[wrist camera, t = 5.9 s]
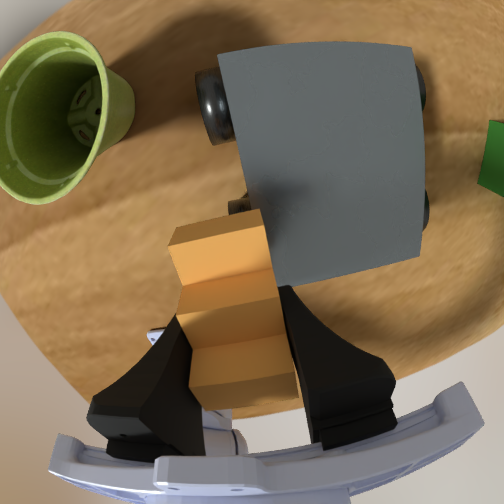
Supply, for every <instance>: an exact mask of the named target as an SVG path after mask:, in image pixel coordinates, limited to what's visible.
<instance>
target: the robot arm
mask: <svg viewBox="0 0 504 504" xmlns="http://www.w3.org/2000/svg"><path fill="white" fill-rule="evenodd" d="M277 288H278V292H279V296H280V302H281V307H282V313H283V318H284V324H285V329H286V335H287V339H288V343H289V348H290V352H291V355H292V358H293V361H294V364H295V367H296V371H297V374H298V378H299V382H300V387H301V392H302V397H303V402H304V407H305V412H306V418H307V423H308V428H309V433H310V439H311V444H310V445H305V446H300V447H294V448H289V449H282V450H276V451H269V452H261V453H252V454H248V447H247V443H246V440H245V438H244V437H243V436H242V434H241V433H240V431H239V430H237V429H232V409H223V410H213V411H205V410H204V408H203V407H202V406H201V404H200V403H199V401H198V400H197V399H196V397H195V396H194V394H193V393H192V391H191V390H190V388H189V379H190V370H191V361H192V353H193V349H192V347H191V345H190V343H189V341H188V339H187V337H186V335H185V333H184V331H183V329H182V327H181V325H180V323H179V321H178V319H177V317H176V314H175V315H174V317H173V318H172V320H171V321H170V323H169V324H168V326H167V327H166V328H165V329H161V330H153V331H148V333H147V337H148V339H149V340H150V342H151V344H152V345H153V346H152V347H151V348H150V350H149V351H148V352H147V353H146V354H145V355H144V356H143V357H142V359H141V360H140V361H139V362H138V363H137V364H136V365H134V366H133V367H132V368H131V369H130V370H129V371H128V372H127V373H126V374H125V375H123V376H122V377H121V378H120V379H118V380H117V381H116V382H114V383H113V384H112V385H110V386H109V387H107V388H106V389H104V390H102V391H101V392H99V393H98V394H96V395H94V396H93V398H92V401H91V404H90V407H89V410H88V414H87V417H86V418H87V421H88V423H89V424H90V426H92V427H93V428H94V429H95V430H96V431H98V432H99V433H100V434H102V435H103V436H104V437H106V438H107V439H108V444H107V449H104V448H98V447H93V446H89V445H84V443H82V442H81V441H80V440H78V439H76V438H74V437H71V436H68V435H64V434H60V433H59V434H58V436H57V439H56V442H55V445H54V449H53V453H52V456H51V460H50V464H49V468H48V471H49V472H51V473H53V474H54V475H56V476H58V477H60V478H61V479H63V480H66V481H67V482H69V483H71V484H73V485H75V486H77V487H80V488H82V489H86V490H88V491H91V492H95V493H98V494H101V495H104V496H107V497H111V498H115V499H118V500H122V501H126V502H130V503H135V504H351V502H350V497H351V496H354V495H357V494H360V493H363V492H366V491H369V490H371V489H374V488H377V487H379V486H382V485H385V484H387V483H389V482H392V481H394V480H397V479H399V478H401V477H403V476H406V475H408V474H410V473H412V472H414V471H416V470H418V469H420V468H422V467H424V466H426V465H428V464H430V463H432V462H434V461H435V460H437V459H439V458H441V457H443V456H445V455H446V454H448V453H450V452H452V451H453V450H455V449H457V448H458V447H460V446H461V445H463V444H464V443H465V442H466V441H467V440H468V439H470V438H471V437H472V436H473V435H474V434H475V433H476V432H477V431H478V430H479V429H480V428H481V427H482V426H484V421H483V419H482V417H481V415H480V413H479V411H478V409H477V407H476V405H475V403H474V401H473V399H472V398H471V396H470V394H469V392H468V390H467V389H466V387H465V385H464V383H463V382H459V383H457V384H455V385H453V386H451V387H450V388H448V389H446V390H444V391H442V392H441V393H439V394H438V395H437V396H436V397H435V399H434V401H433V403H431V404H429V405H427V406H425V407H423V408H421V409H418V410H416V411H414V412H411V413H409V414H407V415H404V416H402V417H400V418H397V419H396V417H395V414H394V412H393V409H392V408H393V403H392V400H391V396H392V393H393V391H394V388H395V385H396V380H395V377H394V375H393V373H392V371H391V370H390V368H389V367H388V365H387V364H386V363H385V361H384V360H383V359H381V358H379V357H377V356H374V355H372V354H369V353H367V352H365V351H363V350H361V349H359V348H357V347H355V346H354V345H352V344H350V343H349V342H347V341H346V340H344V339H342V338H341V337H339V336H338V335H337V334H335V333H334V332H333V331H331V330H330V329H329V328H328V327H326V326H325V325H324V324H323V323H322V322H321V321H320V320H319V319H317V318H316V317H315V316H314V315H313V314H312V313H311V311H310V310H309V309H308V308H307V307H306V306H305V305H304V304H303V302H302V301H301V300H300V299H299V297H298V296H297V295H296V293H295V292H294V290H293V288H292V287H291V286H290V285H284V286H280V287H277ZM176 313H177V312H176ZM153 338H154V339H153Z"/></svg>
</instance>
